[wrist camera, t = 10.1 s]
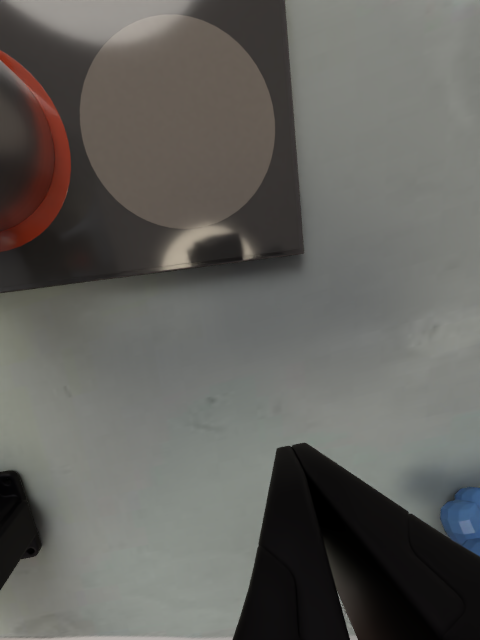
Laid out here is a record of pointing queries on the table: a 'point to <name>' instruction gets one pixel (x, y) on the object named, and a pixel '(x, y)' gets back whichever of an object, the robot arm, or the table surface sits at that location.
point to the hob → (154, 137)
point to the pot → (22, 151)
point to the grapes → (463, 518)
